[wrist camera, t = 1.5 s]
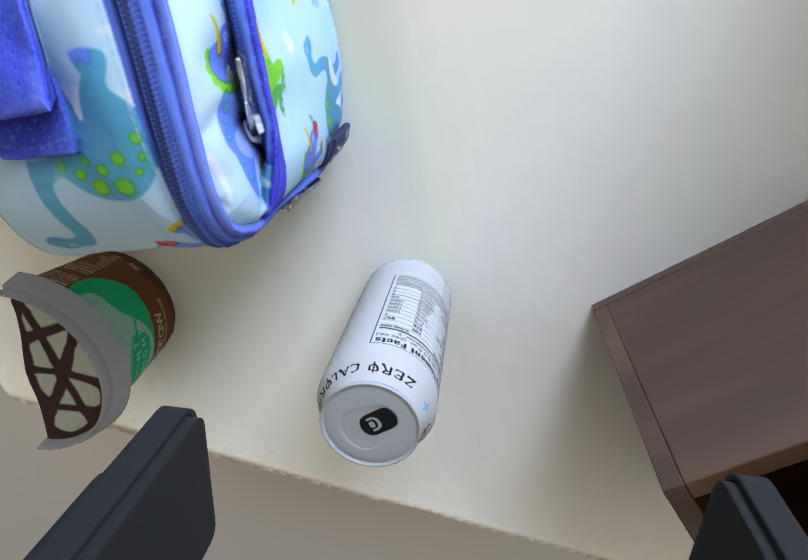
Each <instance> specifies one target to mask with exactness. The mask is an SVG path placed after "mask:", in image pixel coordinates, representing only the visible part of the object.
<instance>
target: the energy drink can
mask: <svg viewBox="0 0 808 560" xmlns="http://www.w3.org/2000/svg"><path fill="white" fill-rule="evenodd" d="M450 305H451V295H450V291H449V288H448V285H447V283H446V281H445V280H444V278H443V277H442V276H441V275H440V273H439V272H437V271H436V270H435V269H434V268H433V267H431V266H429V265H427V264H426V263H423V262H420V261H417V260H412V259H398V260H394V261H390V262H388V263H386V264H384V265H382V266H381V267H379V268H378V269H377V270H376V271H375V272H374V273H373V274H372V275H371V277H370V279H369V280H368V282H367V284H366V286H365V288H364V290H363V293H362V295H361V297H360V299H359V301H358V303H357V305H356V307H355V309H354V311H353V314H352V316H351V318H350V320H349V322H348V324H347V326H346V328H345V330H344V332H343V335H342V337H341V339H340V341H339V343H338V345H337V347H336V349H335V351H334V353H333V356H332V358H331V360H330V362H329V364H328V366H327V368H326V370H325V372H324V374H323V377H322V379H321V381H320V384H319V387H318V393H317V402H318V408H319V412H320V425H321V430H322V433H323V435H324V438H325V439H326V441H327V442H328V444H329V445H330V446H331V447H332V449H333V450H334V451H335V452H337V453H338V454H339V455H340V456H342V457H343V458H345V459H347V460H349V461H351V462H353V463H356V464H359V465H363V466H369V467H383V466H389V465H393V464H396V463H398V462H400V461H402V460H404V459H405V458H406V457H408V456H409V455H410V454H411V453H412V452H413V450H414V449H415V448H416V446H417V444H418V443H419V442H420V441H421V440H423V439H424V438H425V437H426V435H427V434H428V433H429V431H430V430H431V428H432V426H433V423H434V421H435V416H436V410H437V403H438V395H439V388H440V380H441V373H442V365H443V358H444V350H445V343H446V335H447V328H448V320H449V313H450Z"/></svg>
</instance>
